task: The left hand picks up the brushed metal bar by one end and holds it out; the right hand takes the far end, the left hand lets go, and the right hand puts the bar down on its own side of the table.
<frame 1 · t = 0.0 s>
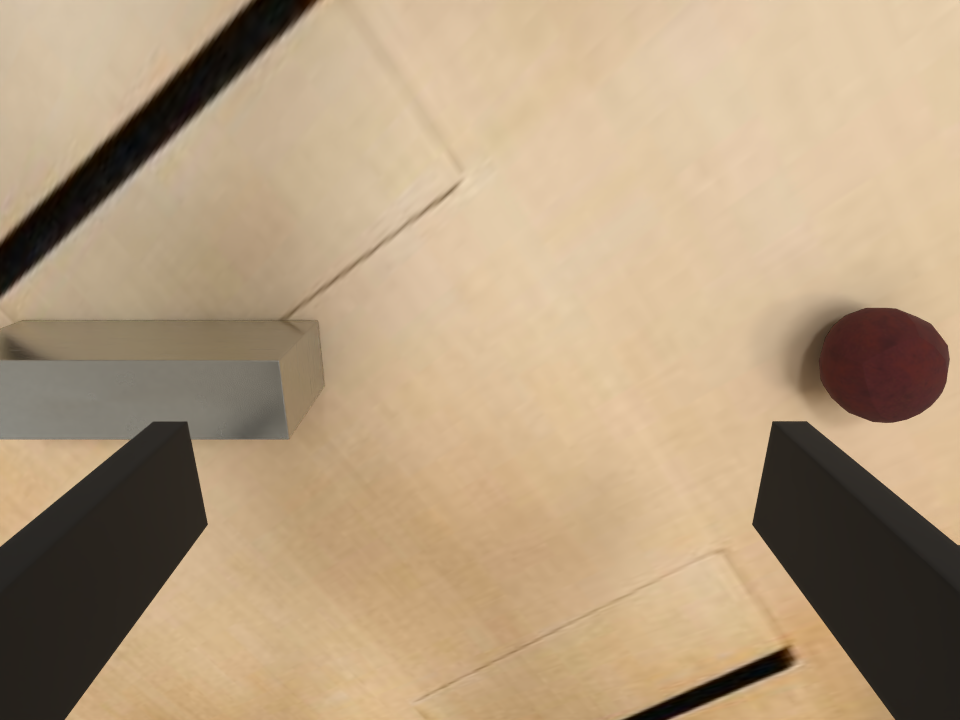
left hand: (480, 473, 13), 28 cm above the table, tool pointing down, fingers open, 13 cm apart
bar: (176, 354, 42), on the table
dark maroon ball: (847, 345, 41), on the table
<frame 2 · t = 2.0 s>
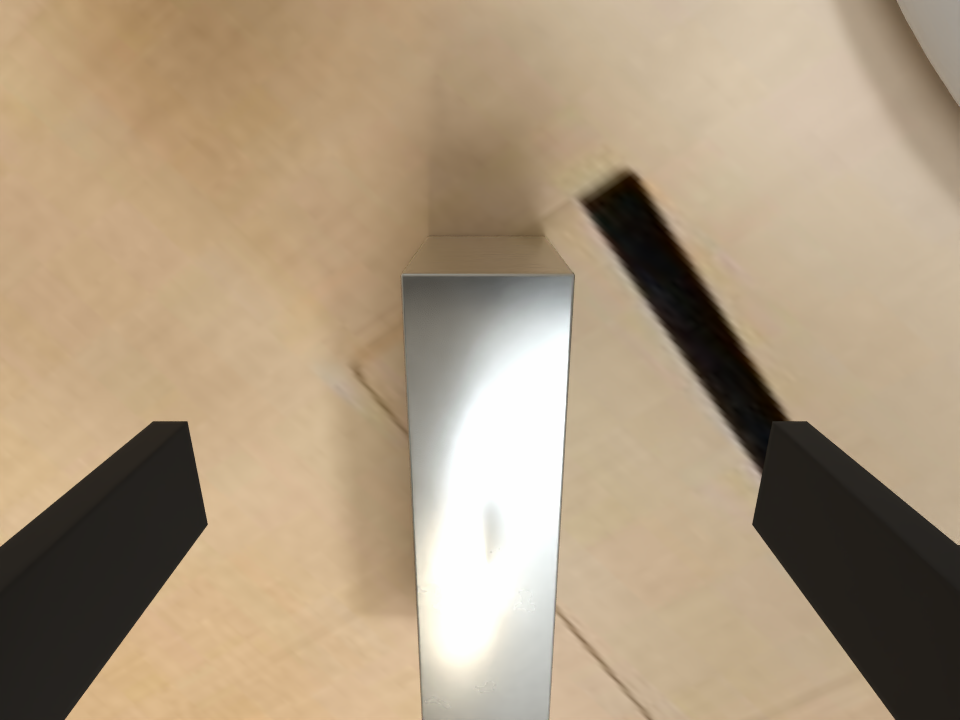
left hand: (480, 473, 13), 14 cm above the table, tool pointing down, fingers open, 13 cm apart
bar: (485, 452, 28), on the table
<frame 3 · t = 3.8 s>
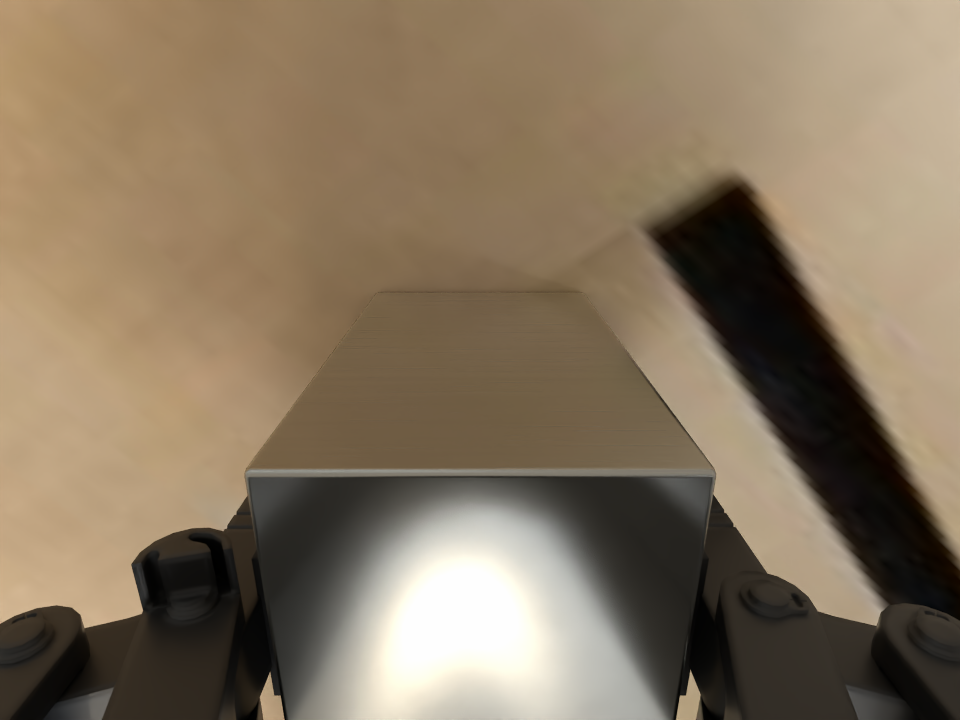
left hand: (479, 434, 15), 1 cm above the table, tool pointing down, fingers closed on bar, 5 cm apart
bar: (480, 625, 18), on the table, touching left hand
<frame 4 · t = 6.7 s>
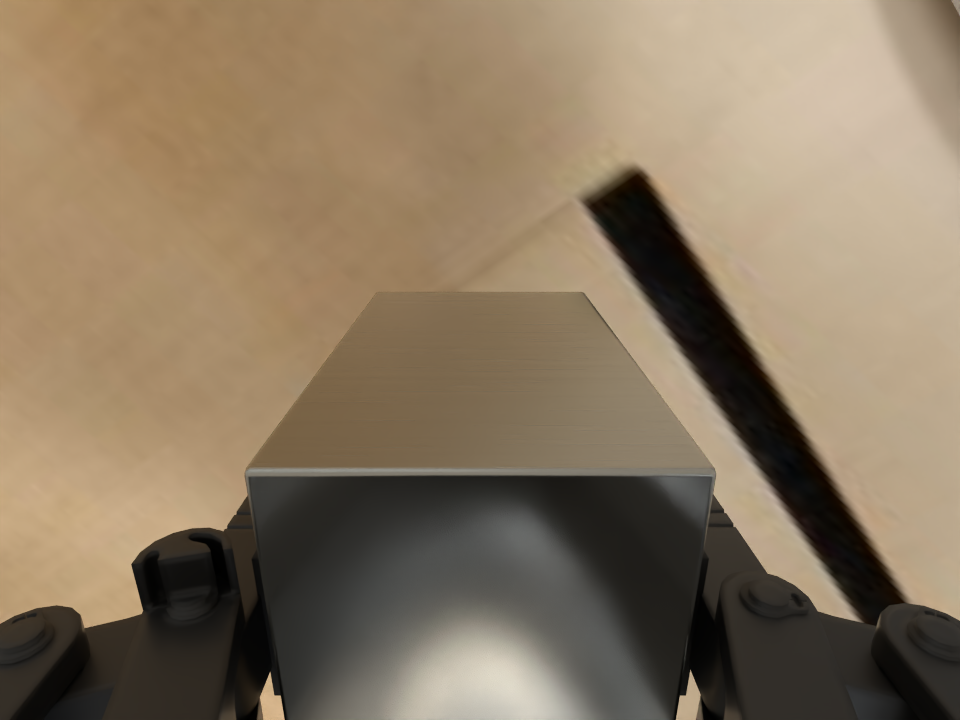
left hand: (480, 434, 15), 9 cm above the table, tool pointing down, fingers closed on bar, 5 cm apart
bar: (480, 625, 18), point 9 cm above the table, touching left hand
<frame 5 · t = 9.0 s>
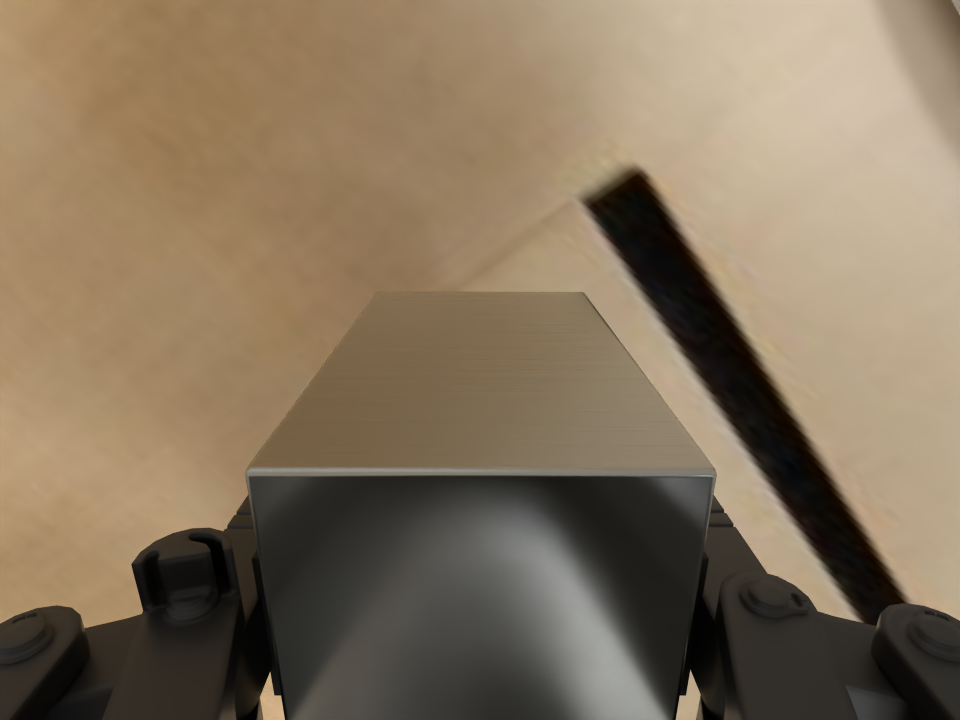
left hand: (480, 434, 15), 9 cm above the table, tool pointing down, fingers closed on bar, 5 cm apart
bar: (479, 625, 18), point 9 cm above the table, touching left hand, right hand
when the left hand's fingers open (9 cm above the table, at t = 9.6 s): bar stays where it is, held by the right hand.
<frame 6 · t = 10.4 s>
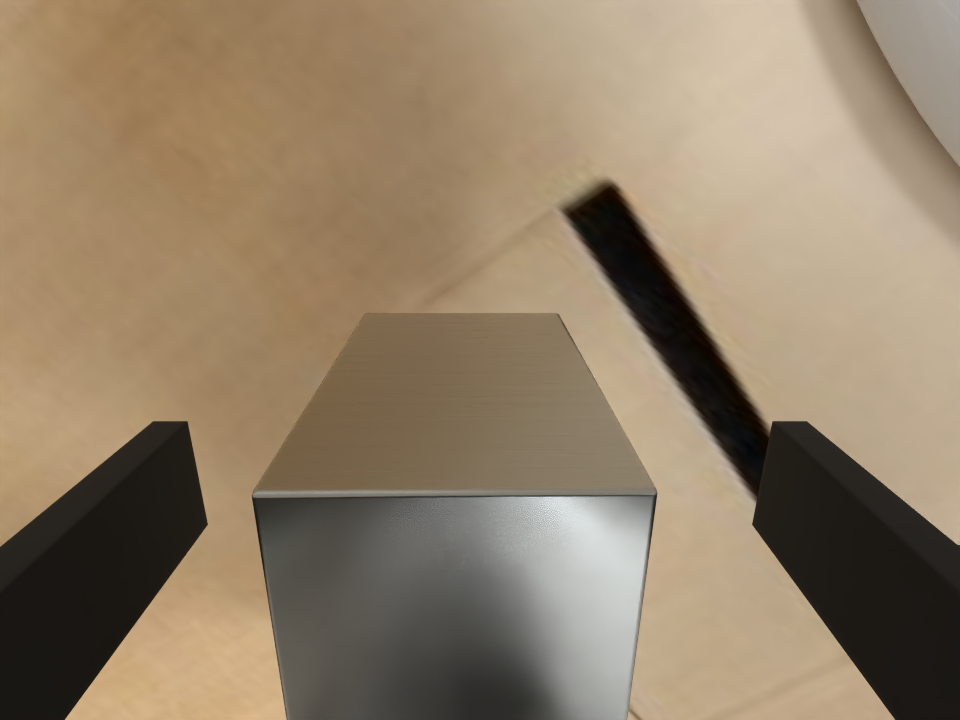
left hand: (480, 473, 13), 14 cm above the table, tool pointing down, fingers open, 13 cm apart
bar: (463, 623, 19), point 11 cm above the table, touching right hand
when the right hand's fingers open (2 cm above the table, at t = 13.5 s): bar drops 1 cm, on the table.
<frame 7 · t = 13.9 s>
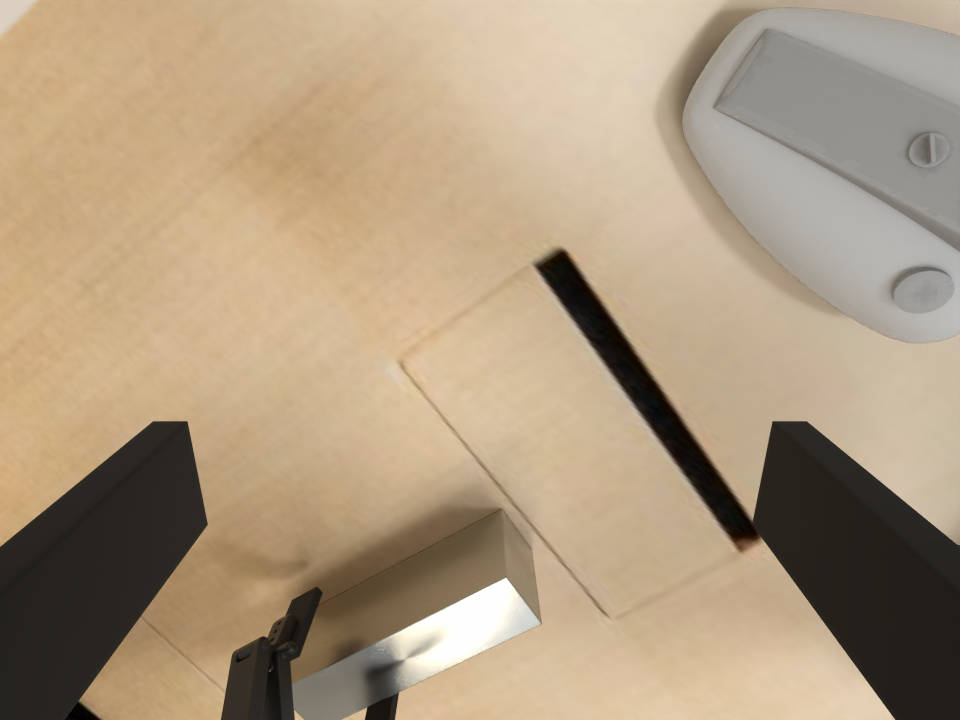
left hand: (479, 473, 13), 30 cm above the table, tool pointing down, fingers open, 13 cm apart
bar: (417, 581, 52), on the table
projector: (828, 166, 39), on the table
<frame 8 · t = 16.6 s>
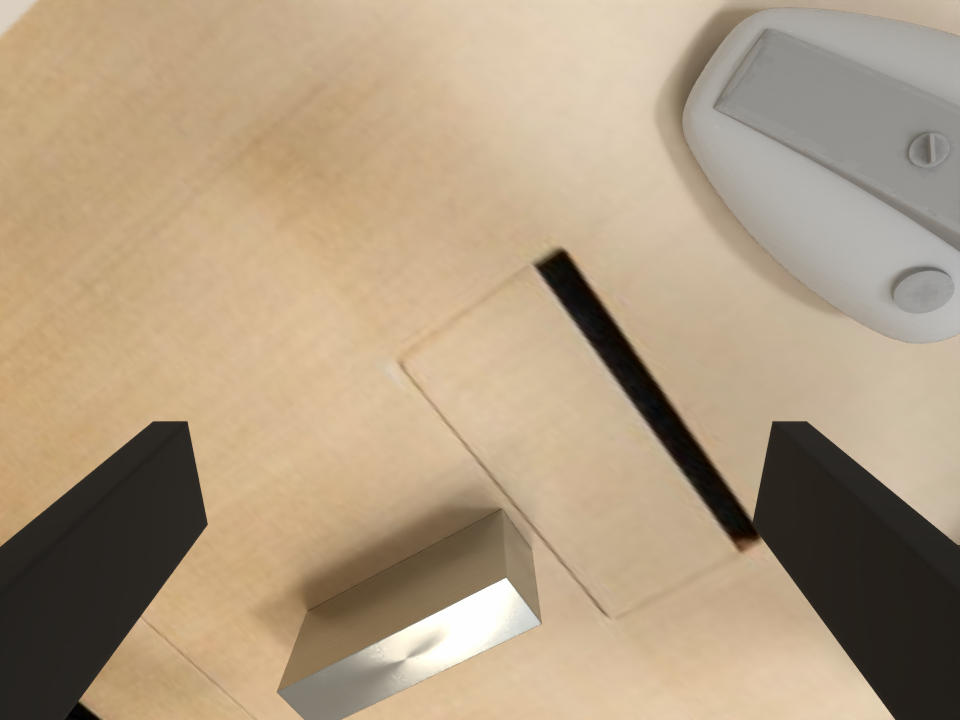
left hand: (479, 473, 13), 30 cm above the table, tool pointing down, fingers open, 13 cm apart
bar: (417, 581, 52), on the table
projector: (828, 166, 39), on the table
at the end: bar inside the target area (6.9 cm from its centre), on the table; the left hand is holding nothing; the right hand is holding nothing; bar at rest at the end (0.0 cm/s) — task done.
